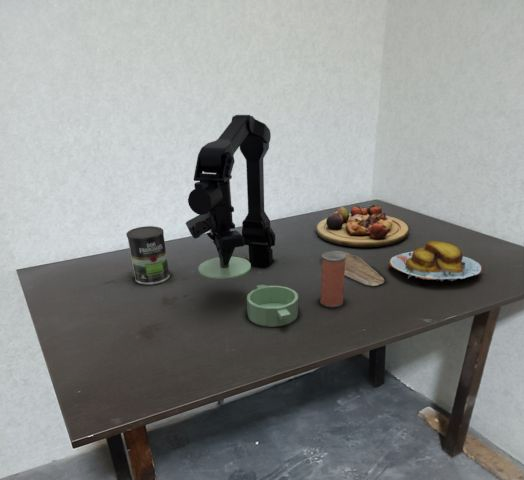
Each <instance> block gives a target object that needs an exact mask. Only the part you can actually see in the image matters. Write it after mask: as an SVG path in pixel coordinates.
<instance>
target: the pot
mask: <svg viewBox="0 0 524 480" xmlns="http://www.w3.org/2000/svg"><path fill="white" fill-rule="evenodd" d="M255 287H256V288H255V289H252V290H251V291H250V292H249V293H248V294H247V295H246V308H247V312H246V313H247V317H248V320H249V321H251V322H252V323H253V324H256V325H258V326H262V327H276V328H277V327H283V326H286V325H289V324H291V323H293V322H294V321H296V319H297V318H298V316H299V294H298V292H296V291H295V290H294V289H293V288H290V287H287V286H281V285H266V284H264V283H263V284H258V285H256V286H255Z"/></svg>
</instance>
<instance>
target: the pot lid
mask: <svg viewBox="0 0 524 480" xmlns="http://www.w3.org/2000/svg"><path fill="white" fill-rule="evenodd" d="M251 268H252V266H251V264H250V262H249V260H247V259H245V258H243V257H239V256H231V259H230V261H229V264H228V265H224V264H223V260H222V257H221V253H220V249H219V254H218V257H213V258H209V259H207V260H205V261H203V262H201V263H200V264H199V265H198V268H197V270H198V273H199V274H200V275H201V276H203V277H205V278H207V279H213V280H229V279H234V278H239V277H241V276H244V275H246V274H247V273H248V272H250V270H251Z"/></svg>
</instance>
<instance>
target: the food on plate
mask: <svg viewBox="0 0 524 480" xmlns="http://www.w3.org/2000/svg"><path fill="white" fill-rule="evenodd" d="M388 268H394V269H395V270H396V271H399V272H401V273H405V274H406V275H408V277H407V279H410V277H413V276H414V277H415V279H418V278H419V279H422V280H427V281H428V280H432V281H433V280H435V281H440V282H444V281H445V280H447V281H451V282H453V281H456V280H458V279H459V280H463V279H466V278H469V277H473V276H477V275H480V274H481V273H482V272H483V267H482V265H481V263H479V262H478V261H477V260H475V259H473V258H470V257H467V256H464V255H463V253H462V250H461V249H460V247H458V246H456V245H455V244H452V243H449V242H446V241H439V240H430V241H426V243H425V245H424V246H422V247H419V248H416V249H414V250H412V251H408V252H407V251H406V252H403V253H399V254H397V255H395V256H394V255H393V256H392V257H390V259H389V261H388Z"/></svg>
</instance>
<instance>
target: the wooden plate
mask: <svg viewBox="0 0 524 480" xmlns="http://www.w3.org/2000/svg"><path fill="white" fill-rule="evenodd" d="M382 209H383V208H382V207H381V206H380V205H375V204H372V205H370V206H369V207H367V208H366V207H365V206H362V207H361V206H358V205H355V206H353V207H351V209H350V212H349V211H348V209H347V208H346V207H344V206H343V205H340V207H338V208H336V209H334V211H333V212H332V213H331V214H329V216H328V217H326V218H324V219H322V220H320V222H318V224H317V226H316V233H317V235H318V236H319V238H321V239H322V240H324V241H326V242H328V243H332V244H335V245H339V246H343V247H344V246H345V247H352V248H377V247H378V248H379V247H386V246H390V245H394V244H397V243H399V242H401V241H404V239H405V238H407V237H408V235H409V232H410V228H409V226H408V224H406V223H405V221H403V220H401V219H399V218H396V217H393V216H390V215H386V213H385V212H383V210H382Z"/></svg>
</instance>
